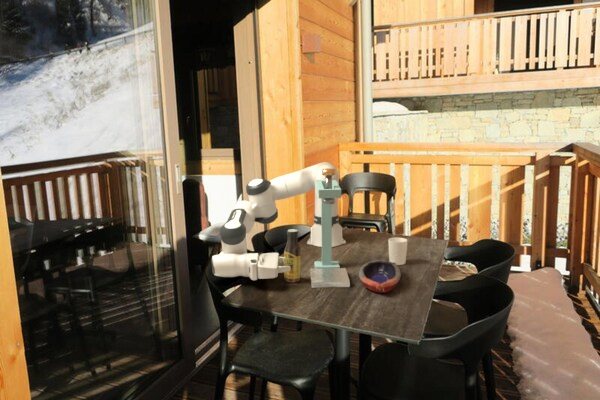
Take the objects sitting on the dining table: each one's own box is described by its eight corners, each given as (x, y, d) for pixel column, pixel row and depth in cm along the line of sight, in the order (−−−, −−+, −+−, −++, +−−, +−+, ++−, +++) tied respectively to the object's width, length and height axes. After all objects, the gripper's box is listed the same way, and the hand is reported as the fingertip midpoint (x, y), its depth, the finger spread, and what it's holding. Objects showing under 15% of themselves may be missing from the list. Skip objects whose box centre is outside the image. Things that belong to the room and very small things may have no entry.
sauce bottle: (280, 280, 191) (279, 229, 188) (293, 276, 195) (292, 227, 192) (291, 284, 186) (290, 233, 183) (304, 280, 190) (303, 230, 187)
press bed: (310, 273, 199) (310, 268, 198) (345, 272, 199) (345, 268, 198) (311, 287, 183) (311, 282, 183) (349, 287, 183) (349, 281, 183)
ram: (321, 201, 188) (321, 168, 186) (335, 201, 188) (334, 168, 186) (322, 204, 183) (322, 170, 181) (336, 203, 183) (336, 169, 181)
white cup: (386, 264, 208) (387, 241, 206) (389, 259, 215) (389, 236, 214) (406, 266, 206) (406, 242, 204) (407, 260, 213) (408, 238, 211)
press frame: (314, 264, 210) (313, 179, 204) (338, 263, 210) (337, 179, 204) (316, 286, 184) (315, 190, 177) (344, 286, 184) (344, 189, 177)
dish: (401, 270, 201) (401, 258, 200) (399, 298, 172) (400, 285, 171) (362, 268, 204) (362, 256, 203) (354, 296, 175) (354, 282, 174)
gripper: (256, 264, 200) (290, 263, 200) (252, 281, 180) (290, 281, 180) (255, 249, 199) (290, 248, 199) (251, 265, 179) (290, 264, 179)
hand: (290, 264), depth 189 cm, fingers open, 8 cm apart
